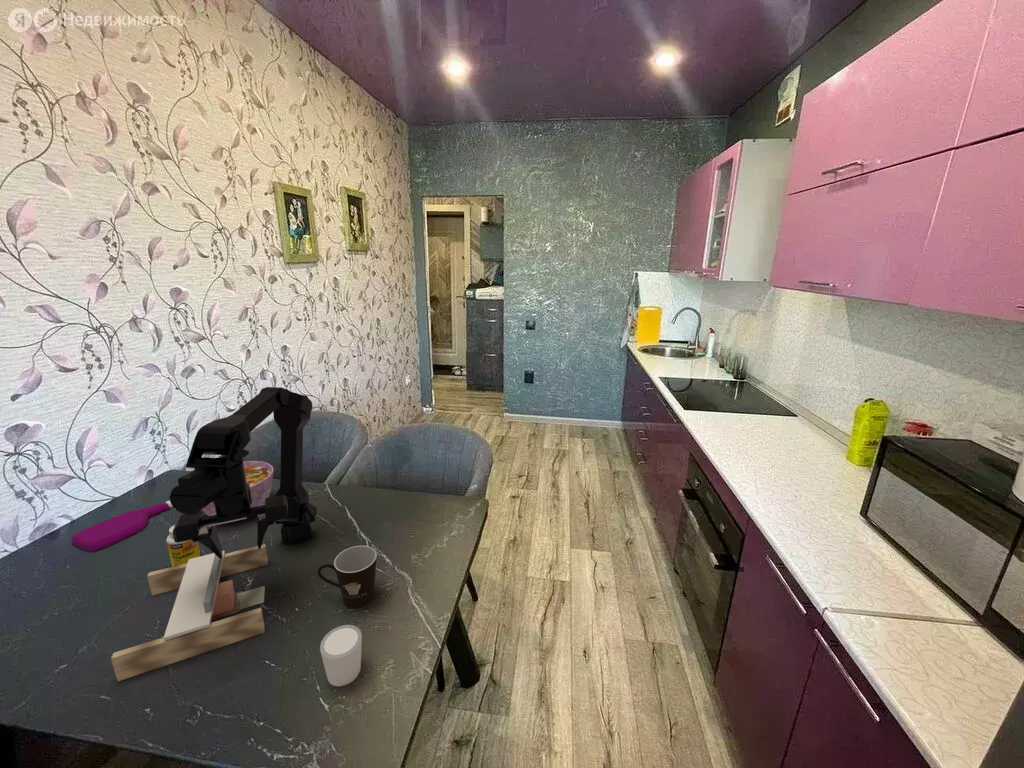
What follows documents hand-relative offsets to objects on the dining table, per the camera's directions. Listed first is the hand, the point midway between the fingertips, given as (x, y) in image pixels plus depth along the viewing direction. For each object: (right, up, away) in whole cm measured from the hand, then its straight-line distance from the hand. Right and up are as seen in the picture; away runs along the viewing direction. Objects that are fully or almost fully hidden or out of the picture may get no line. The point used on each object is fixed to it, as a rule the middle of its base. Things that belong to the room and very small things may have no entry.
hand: (240, 552), depth 84 cm
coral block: (-4, -12, +1) cm, 12 cm away
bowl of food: (-24, -3, +35) cm, 42 cm away
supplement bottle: (-22, -9, +14) cm, 28 cm away
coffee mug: (+21, -12, +6) cm, 25 cm away
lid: (-7, -7, -2) cm, 10 cm away
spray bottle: (-48, -4, +29) cm, 56 cm away
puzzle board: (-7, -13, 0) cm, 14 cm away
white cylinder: (+26, -17, -11) cm, 33 cm away
